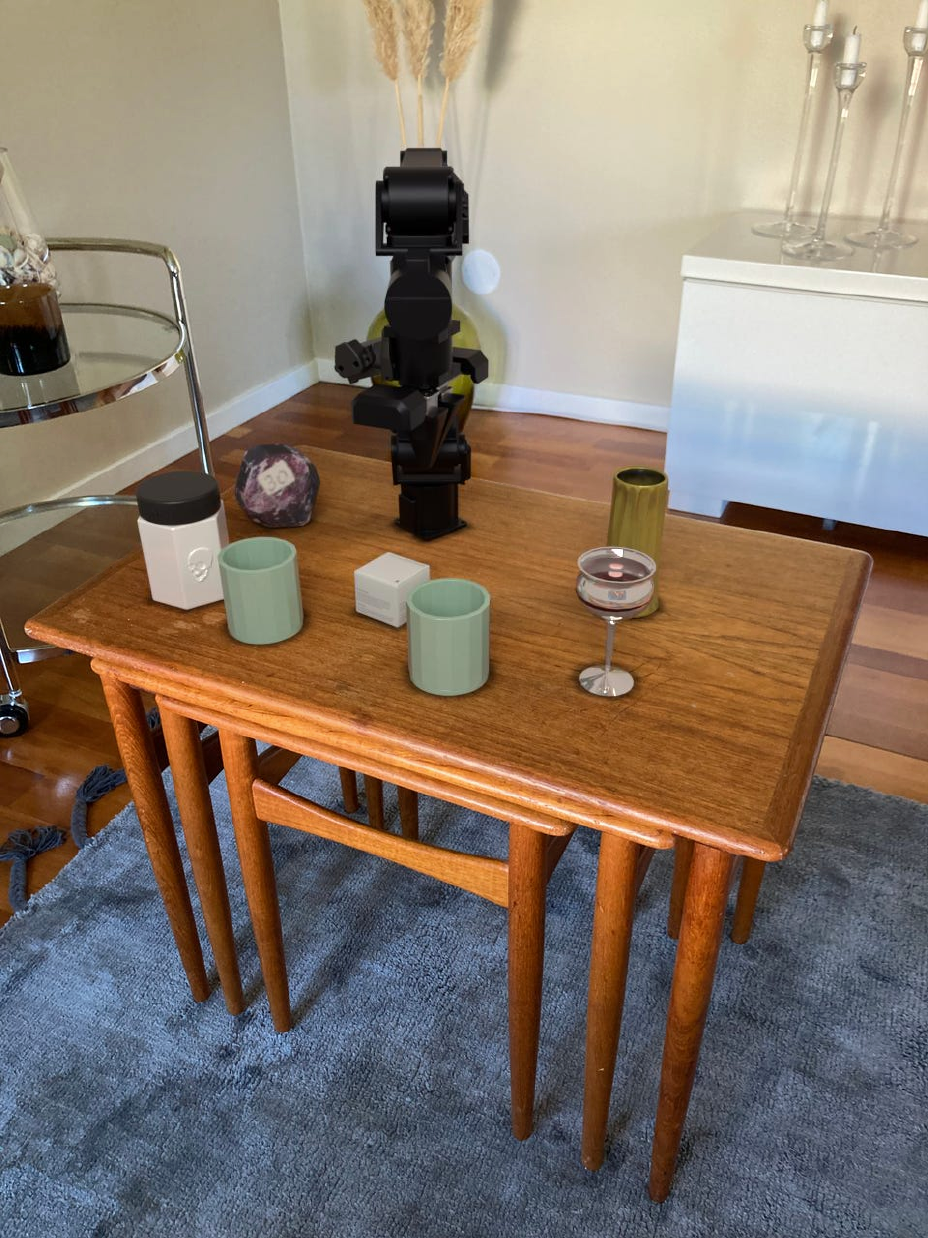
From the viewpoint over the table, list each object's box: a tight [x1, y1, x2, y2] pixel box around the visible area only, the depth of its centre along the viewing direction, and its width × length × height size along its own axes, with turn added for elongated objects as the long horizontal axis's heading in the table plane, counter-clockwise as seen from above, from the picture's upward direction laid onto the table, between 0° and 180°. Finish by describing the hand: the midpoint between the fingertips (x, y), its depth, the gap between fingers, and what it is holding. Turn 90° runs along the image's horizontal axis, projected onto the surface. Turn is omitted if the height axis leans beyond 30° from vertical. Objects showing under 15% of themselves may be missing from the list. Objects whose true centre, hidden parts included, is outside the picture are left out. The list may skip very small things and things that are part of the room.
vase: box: [606, 465, 669, 619], centre depth 96 cm, size 6×6×14 cm
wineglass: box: [574, 546, 656, 697], centre depth 85 cm, size 7×7×12 cm
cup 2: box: [406, 577, 492, 697], centre depth 87 cm, size 7×7×8 cm
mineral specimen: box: [233, 443, 321, 529], centre depth 115 cm, size 10×10×10 cm
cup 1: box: [217, 536, 304, 645], centre depth 94 cm, size 7×7×8 cm
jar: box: [134, 470, 230, 611], centre depth 99 cm, size 9×8×12 cm
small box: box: [353, 551, 431, 629], centre depth 98 cm, size 6×6×5 cm
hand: (425, 467), depth 99 cm, fingers closed
